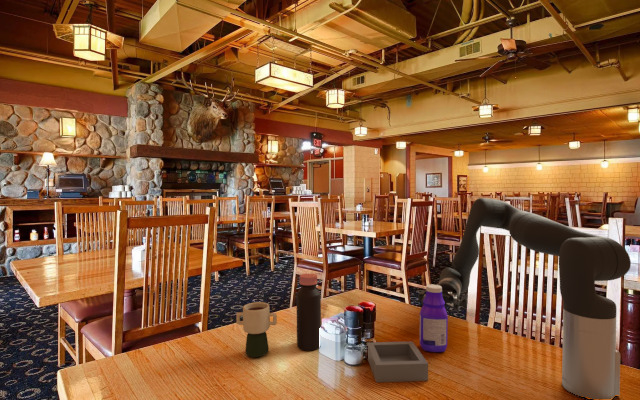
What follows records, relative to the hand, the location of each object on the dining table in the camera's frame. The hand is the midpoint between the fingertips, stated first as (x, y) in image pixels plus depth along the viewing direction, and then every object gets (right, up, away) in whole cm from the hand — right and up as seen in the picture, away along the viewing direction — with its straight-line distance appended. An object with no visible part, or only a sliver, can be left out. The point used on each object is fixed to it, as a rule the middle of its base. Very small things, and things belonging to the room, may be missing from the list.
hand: (439, 305), depth 108 cm
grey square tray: (-17, -10, -18) cm, 27 cm away
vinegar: (-38, -10, -5) cm, 40 cm away
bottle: (-4, -10, -8) cm, 13 cm away
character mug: (-52, -10, -10) cm, 54 cm away
